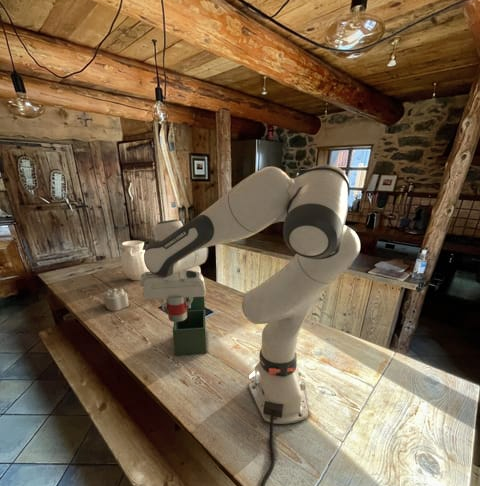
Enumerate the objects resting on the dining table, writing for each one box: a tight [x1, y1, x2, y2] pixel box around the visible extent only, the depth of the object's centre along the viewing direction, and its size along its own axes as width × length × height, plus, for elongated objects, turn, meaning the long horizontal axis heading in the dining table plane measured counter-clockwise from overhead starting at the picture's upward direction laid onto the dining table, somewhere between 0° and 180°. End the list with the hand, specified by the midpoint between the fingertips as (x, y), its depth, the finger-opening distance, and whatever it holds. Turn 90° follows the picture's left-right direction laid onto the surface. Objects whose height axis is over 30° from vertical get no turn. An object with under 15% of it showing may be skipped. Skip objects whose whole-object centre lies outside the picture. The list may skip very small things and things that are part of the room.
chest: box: [172, 309, 207, 356], centre depth 113 cm, size 16×13×12 cm
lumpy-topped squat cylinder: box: [103, 288, 130, 312], centre depth 146 cm, size 10×13×9 cm
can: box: [165, 296, 188, 323], centre depth 91 cm, size 6×6×9 cm
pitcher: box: [120, 240, 150, 281], centre depth 180 cm, size 19×18×25 cm
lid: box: [186, 295, 206, 311], centre depth 114 cm, size 16×13×5 cm
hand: (177, 308), depth 91 cm, fingers closed on can, 6 cm apart
